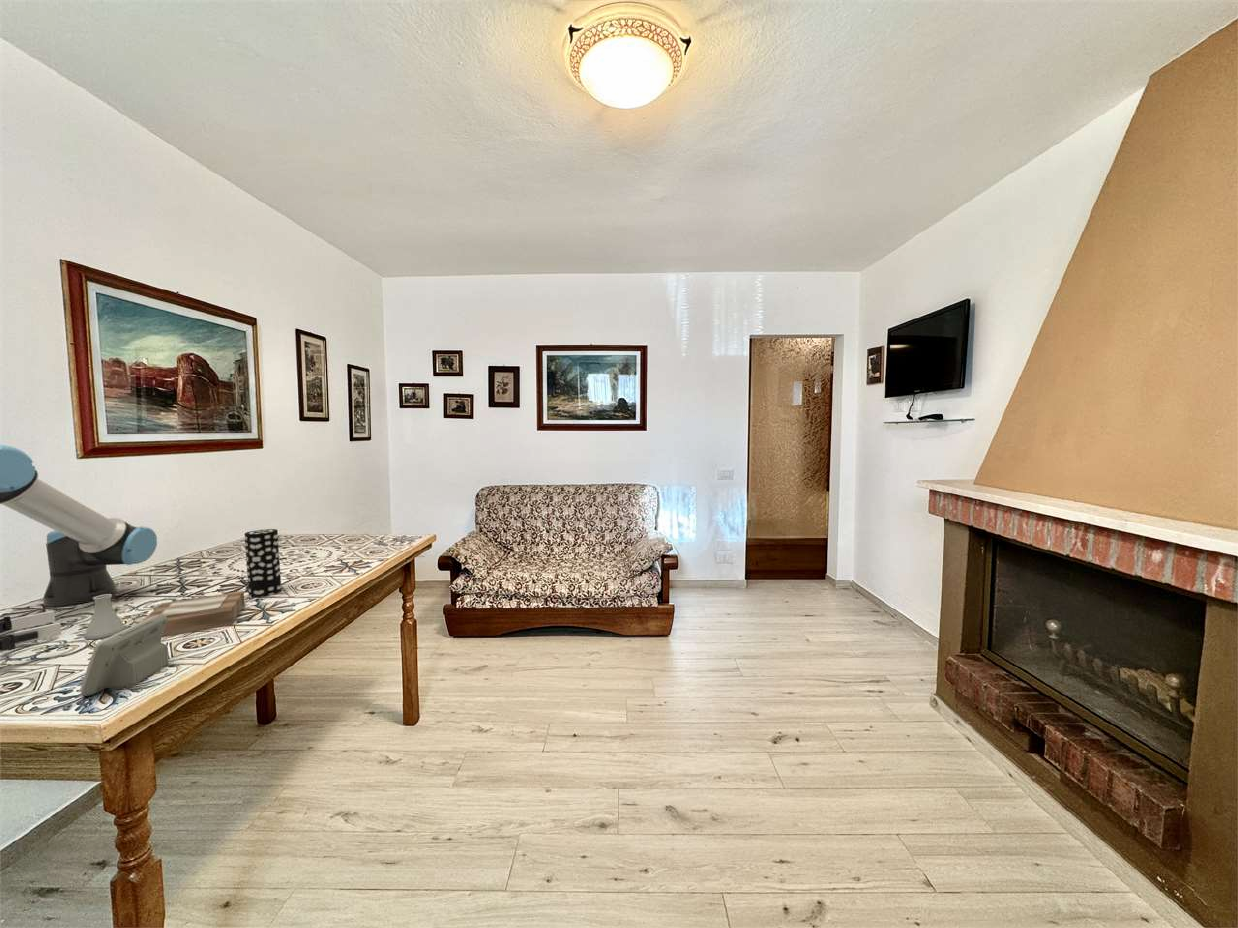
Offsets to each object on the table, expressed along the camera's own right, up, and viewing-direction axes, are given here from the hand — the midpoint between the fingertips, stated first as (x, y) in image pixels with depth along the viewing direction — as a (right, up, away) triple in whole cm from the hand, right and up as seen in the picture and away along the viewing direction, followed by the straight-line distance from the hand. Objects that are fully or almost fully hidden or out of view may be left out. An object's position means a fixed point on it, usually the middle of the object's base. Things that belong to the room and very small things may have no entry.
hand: (57, 621), depth 111 cm
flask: (+4, -6, +7) cm, 10 cm away
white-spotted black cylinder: (+22, -3, +36) cm, 43 cm away
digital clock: (+34, -7, -15) cm, 37 cm away
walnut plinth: (+21, -5, +14) cm, 26 cm away
